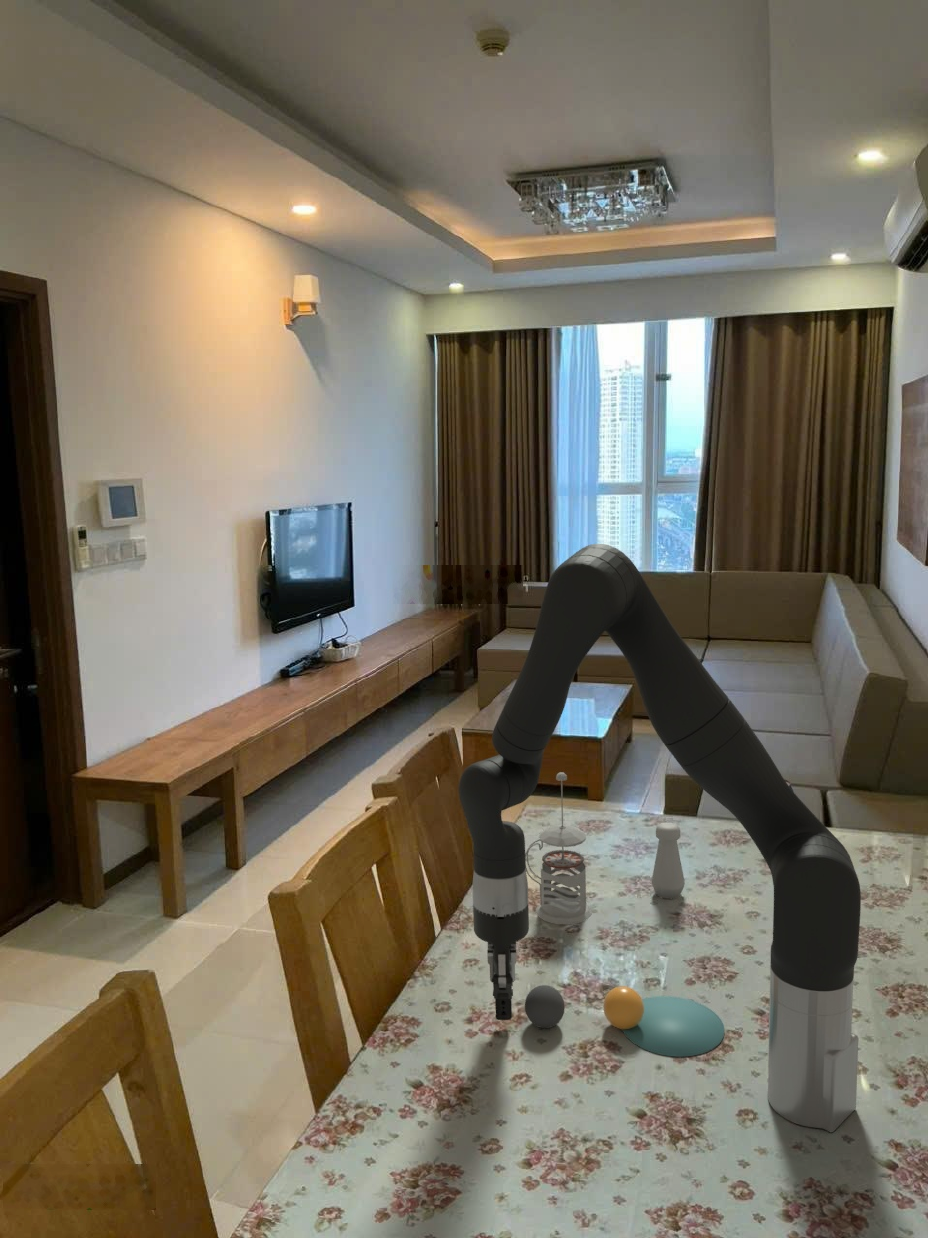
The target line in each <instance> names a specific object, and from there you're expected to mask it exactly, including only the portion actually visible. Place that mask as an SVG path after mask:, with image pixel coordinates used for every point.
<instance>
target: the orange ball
mask: <svg viewBox="0 0 928 1238" xmlns="http://www.w3.org/2000/svg"><path fill="white" fill-rule="evenodd" d="M642 999H643V998H642V997H641V995H640V994H639V993H638V992H637V991H636V990H635V989H633V988H631V987H629V986H623V985H622V986H621V985H619V986H616V987H613V988H612V989H611V990H609V991H608V993H607V994H606V995H605V998H604V1000H603V1013H604V1016H605V1018H606V1020H607V1021H608V1022H609V1023H610V1024H611V1025H612V1026H613V1027H615V1028H616V1029H620V1030H622V1029H630V1028H633V1027H635V1026H636V1025H637V1024H638V1023H639V1022H640V1021H641V1019H642V1017H643V1014H644V1005H643V1001H642Z"/></svg>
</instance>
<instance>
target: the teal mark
mask: <svg viewBox="0 0 928 1238" xmlns="http://www.w3.org/2000/svg"><path fill="white" fill-rule="evenodd" d="M641 999H642V1001H643V1005H644V1014H643V1017H642V1019H641V1021H640V1022H639V1023H638V1024H637V1025H636V1026H635V1027H633V1028H630V1029H621V1032H622V1033H623V1032H624V1033H623V1034H624V1036H625V1035H626V1036H627V1037H628V1038H629V1039H630V1040H631V1041H632V1042H631V1041H630V1040H629V1039H628V1038H627V1037H626V1036H625V1037H626V1038H627V1039H628V1040H629V1041H630V1042H631V1043H633V1044H634V1043H635V1044H636V1045H635V1044H634V1045H635V1046H637V1045H638V1046H637V1047H639V1046H640V1047H639V1048H641V1049H643V1050H645V1051H648V1052H650V1053H653V1054H657V1055H661V1056H667V1057H678V1058H682V1057H683V1058H684V1057H685V1058H686V1057H693V1056H699V1055H703V1054H705V1053H708V1052H710V1051H712V1050H714V1049H715V1048H717V1047H718V1046H719V1045H720V1044H721V1042H722V1041H723V1039H724V1037H725V1026H724V1023H723V1020H722V1019H721V1017H720V1016H719V1015H718V1014H717V1013H716V1012H715V1011H713V1010H712V1009H711V1008H709V1007H707V1006H706V1005H704V1004H702V1003H701V1002H700V1003H699V1002H697V1001H695V1000H691V999H689V998H685V997H679V996H671V995H666V996H665V995H662V996H661V995H659V996H658V995H657V996H651V997H646V998H641Z"/></svg>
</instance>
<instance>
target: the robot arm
mask: <svg viewBox="0 0 928 1238" xmlns="http://www.w3.org/2000/svg"><path fill="white" fill-rule="evenodd" d="M604 632H606V634H608V636H609V638H611V639H610V640H612V641H613V642H614V644H615V646H617V648H618V649H619V650H620V652H621V653H622V654H623V656H624V658H625V660H626V661H627V663H628V664H629V667H630V669H631V671H632V673H633V676H634V679H635V682H636V684H637V687H638V690H639V694H640V697H641V699H642V703H643V705H644V709H645V711H646V713H647V716H648V719H649V721H650V723H651V726H652V727H653V729H654V731H655V733H656V735H657V736H658V737H659V739H660V740H661V742H662V743H663V744H664V746H665V747H666V748H667V750H668V751H669V752H670V753H671V754H670V755H672V756H673V758H674V759H675V760H676V762H677V763H678V764H679V766H680V767H681V769H683V771H684V772H685V774H687V775H688V776H689V777H690V778H691V780H692V781H694V783H696V784H697V786H699V787H700V788H701V789H703V791H704V792H705V793H707V794H708V795H709V796H710V797H711V798H713V799H714V800H715V801H717V802H718V803H719V804H721V805H722V807H724V808H726V810H728V811H729V813H731V814H732V815H733V816H734V817H735V818H736V820H737V821H739V823H740V824H741V826H742V827H743V828H744V830H745V831H746V832H747V834H748V835H749V836H750V839H751V840H752V841H753V843H754V844H755V846H756V848H757V849H758V851H759V852H760V854H761V855H762V857H763V859H764V860H765V863H766V865H767V867H768V868H769V870H770V873H771V877H772V885H773V913H772V914H773V917H772V918H773V919H772V921H773V925H772V942H771V945H770V969H769V970H770V971H769V973H770V974H769V1008H768V1010H769V1011H768V1015H769V1016H768V1020H769V1021H768V1057H767V1059H768V1060H767V1061H768V1062H767V1063H768V1064H767V1065H768V1066H767V1067H768V1068H767V1071H768V1072H767V1099H768V1102H769V1104H770V1106H771V1107H772V1109H773V1110H774V1111H775V1112H776V1113H778V1115H780V1116H781V1117H783V1119H786V1120H788V1121H789V1122H792V1123H794V1124H796V1125H799V1126H804V1127H807V1128H818V1129H823V1130H825V1131H827V1132H830V1133H833V1132H834V1131H836V1130H837V1128H839V1126H841V1124H842V1123H843V1122H844V1121H845V1120H846V1119H847V1118H848V1117H849V1116H850V1115H851V1114H852V1113H853V1112H855V1110H856V1109H857V1092H858V1091H857V1090H858V1064H859V1063H858V1061H859V1037H858V1035H857V1034H855V1033H854V1032H853V1033H852V1030H853V1029H852V1027H853V1026H852V1024H853V1001H854V1000H853V998H854V997H853V996H854V976H855V965H856V963H857V961H858V956H859V944H860V943H859V942H860V927H861V925H860V924H861V907H862V905H861V902H862V901H861V899H862V898H861V897H862V895H861V885H860V880H859V877H858V875H857V872H856V870H855V867H854V866H855V865H854V863H853V861H852V858H851V855H850V854H849V852H848V850H847V849H846V847H845V846H844V845H843V843H841V841H840V840H839V839H838V838H837V837H836V836H835V834H833V832H831V830H829V829H828V827H826V825H824V823H823V822H822V821H820V819H819V818H818V817H817V816H816V815H815V814H814V813H813V812H812V811H811V809H810V808H809V807H808V806H807V805H806V804H805V803H804V802H803V801H802V800H801V799H800V798H799V796H797V794H796V793H795V792H793V791H794V790H793V791H792V789H793V788H792V789H791V788H790V787H789V786H788V784H787V783H786V781H785V780H786V779H785V778H784V777H783V775H782V774H781V772H780V771H779V768H778V767H777V765H776V763H775V762H774V761H773V758H772V757H771V755H770V754H769V752H768V751H767V749H766V747H764V745H763V743H762V742H761V740H760V739H759V738H758V737H759V736H757V735H756V733H755V732H754V731H753V729H752V728H751V726H750V725H749V723H748V722H747V720H746V719H745V717H744V716H743V715H742V713H741V712H740V711H739V710H738V708H737V706H736V705H734V703H733V702H732V700H731V699H730V697H728V695H727V693H725V691H724V690H723V689H722V687H720V685H719V684H718V683H717V682H716V680H715V679H714V678H713V677H712V676H711V674H710V673H709V672H708V670H707V669H706V668H705V666H704V665H703V664H702V662H701V661H700V660H699V658H698V657H697V655H696V654H695V653H694V651H692V648H690V647H689V645H688V644H687V643H686V641H684V639H683V638H682V637H681V635H680V634H679V633H678V632H677V629H676V628H675V626H673V624H672V623H671V621H670V620H669V618H668V616H667V615H666V613H665V611H664V610H663V608H662V606H661V605H660V603H659V602H658V601H657V599H656V597H655V595H654V593H652V590H651V588H650V587H649V585H648V584H647V582H646V580H645V579H644V577H643V576H642V574H641V573H640V571H639V569H638V568H637V566H636V565H635V563H634V562H633V561H632V560H631V559H630V558H629V556H628V555H627V554H625V553H624V552H622V551H621V550H620V549H618V548H617V547H615V546H612V545H609V544H605V543H593V544H590V545H589V544H588V545H586V546H584V547H582V548H580V549H579V550H578V551H576V552H575V553H574V554H572V555H571V556H569V557H568V558H567V559H566V560H564V561H563V562H562V563H561V564H560V565H558V566H557V567H556V569H555V570H554V571H553V572H552V573H551V575H550V577H549V579H548V582H547V585H546V588H545V591H544V596H543V600H542V602H541V607H540V610H539V615H538V619H537V623H536V627H535V630H534V634H533V637H532V641H531V644H530V646H529V650H528V652H527V655H526V657H525V660H524V663H523V665H522V668H521V669H520V672H519V674H518V676H517V679H516V681H515V683H514V685H513V687H512V689H511V690H510V693H509V695H508V697H507V699H506V701H505V703H504V706H503V708H502V710H501V712H500V714H499V716H498V718H497V720H496V723H495V724H494V725H495V726H494V728H493V731H492V737H491V742H492V747H494V750H495V751H496V753H498V754H497V755H494V756H492V757H489V758H486V759H483V760H479V761H477V762H474V763H471V764H469V765H468V766H467V767H466V768H465V769H464V770H463V772H462V774H461V776H460V779H459V784H458V796H459V797H458V798H459V800H460V801H459V802H460V804H461V808H462V810H463V813H464V817H465V820H466V824H467V827H468V831H469V833H470V836H471V840H472V854H473V856H472V857H473V859H472V860H473V874H472V875H473V877H472V911H473V914H472V915H473V932H474V935H475V936H476V937H478V939H480V940H481V941H483V942H486V943H487V951H486V952H487V955H486V957H487V964H488V965H489V980H490V982H491V983H492V985H493V986H492V987H493V989H492V996H493V999H494V1000H495V1018H496V1020H498V1021H509V1020H511V1019H512V1018H513V1012H512V1011H513V1009H512V999H513V996H514V988H513V986H514V983H515V981H516V964H517V961H518V960H517V942H519V941H521V940H522V939H524V938H525V937H526V936H527V935H528V933H529V931H530V919H529V916H530V915H529V913H530V912H529V910H530V909H529V884H528V877H527V875H528V874H527V872H526V868H527V864H526V863H527V862H526V863H525V853H526V840H525V839H526V838H525V834H524V833H525V832H524V831H523V829H522V828H521V826H520V825H518V824H517V823H514V822H512V821H509V820H508V821H505V820H502V819H503V818H502V812H503V811H505V810H507V809H509V808H512V807H515V806H518V805H520V804H521V803H524V802H525V801H526V800H527V799H528V798H530V797H531V795H532V794H533V792H535V790H536V788H537V786H538V783H539V780H540V774H541V770H542V769H541V768H542V764H543V758H544V757H543V756H544V751H545V749H546V748H547V745H548V744H549V742H550V740H551V738H552V736H553V733H554V731H555V730H556V728H557V726H558V724H559V722H560V720H561V717H562V715H563V711H564V710H565V706H566V703H567V699H568V695H569V691H570V688H571V683H572V682H573V680H574V677H575V674H576V673H577V671H578V669H579V667H580V666H581V663H582V662H583V660H584V659H585V657H586V656H587V655H588V654H589V652H590V651H591V649H593V648H592V647H594V645H595V644H596V642H597V641H598V640H599V639H600V638H601V637H602V635H603V634H604ZM784 779H785V780H784Z"/></svg>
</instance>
